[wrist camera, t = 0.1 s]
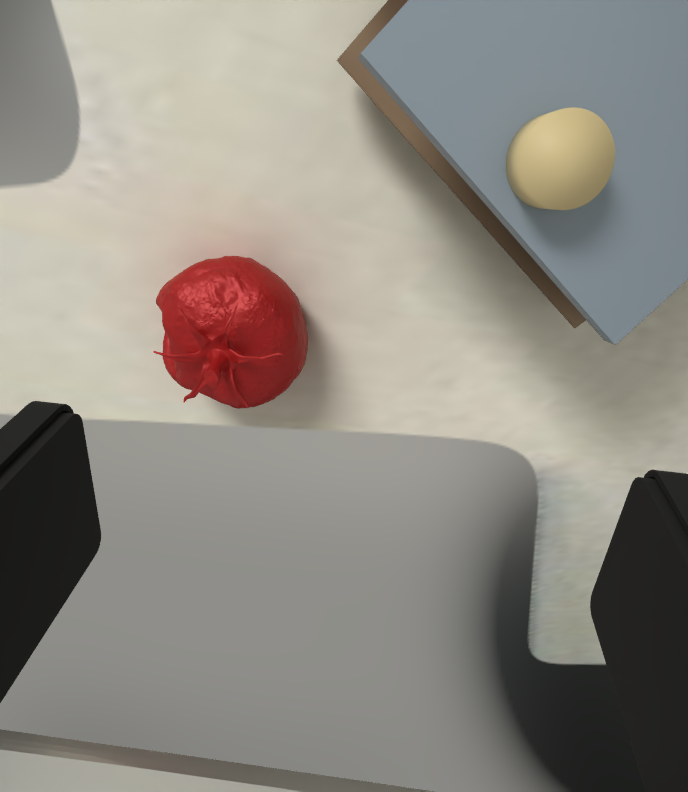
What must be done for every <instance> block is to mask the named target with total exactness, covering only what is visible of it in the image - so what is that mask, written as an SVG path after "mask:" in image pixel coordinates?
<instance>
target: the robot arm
mask: <svg viewBox="0 0 688 792" xmlns="http://www.w3.org/2000/svg"><path fill="white" fill-rule="evenodd" d="M100 541H101V530H100V524H99V518H98V512H97V506H96V500H95V494H94V488H93V482H92V476H91V470H90V464H89V458H88V452H87V446H86V440H85V434H84V428H83V422H82V419H81V417H80V415H78V414H74V413H73V410H72V409H71V407H70V406H68V405H67V404H58V403H49V402H40V401H33V402H31V403H29V404H28V405H27V406H26V407H24V408H23V409H22V410H21V411H20V412H19V413H18V414H17V415H16V416H14V417H13V418H12V419H11V420H10V421H9V422H8V423H7V424H6V425H5V426H3V427H2V428H1V429H0V703H1V701H2V700H3V698H4V697H5V695H6V693H7V691H8V690H9V689H10V687H11V686H12V684H13V683H14V681H15V679H16V678H17V676H18V675H19V673H20V672H21V670H22V669H23V667H24V665H25V664H26V662H27V661H28V659H29V658H30V656H31V655H32V653H33V651H34V650H35V648H36V647H37V645H38V643H39V642H40V640H41V639H42V637H43V636H44V634H45V633H46V631H47V629H48V628H49V627H50V625H51V623H52V622H53V620H54V619H55V617H56V616H57V614H58V613H59V611H60V609H61V608H62V606H63V605H64V603H65V602H66V600H67V599H68V597H69V595H70V594H71V592H72V591H73V589H74V587H75V586H76V585H77V583H78V581H79V580H80V578H81V577H82V575H83V574H84V572H85V571H86V569H87V567H88V566H89V564H90V563H91V561H92V560H93V558H94V556H95V555H96V553H97V551H98V548H99V546H100ZM590 608H591V615H592V619H593V622H594V625H595V629H596V632H597V635H598V638H599V642H600V645H601V648H602V651H603V655H604V658H605V661H606V664H607V667H608V671H609V674H610V677H611V680H612V684H613V687H614V690H615V693H616V697H617V700H618V703H619V706H620V710H621V713H622V716H623V719H624V722H625V726H626V729H627V732H628V735H629V739H630V742H631V745H632V748H633V752H634V755H635V758H636V761H637V764H638V768H639V771H640V774H641V777H642V781H643V784H644V787H645V791H646V792H688V474H685V473H676V472H667V471H658V470H650V471H648V472H647V473H646V474H645V476H644V478H641V477H638V478H635V480H634V481H633V483H632V485H631V487H630V490H629V493H628V496H627V498H626V501H625V504H624V507H623V509H622V512H621V515H620V518H619V520H618V523H617V526H616V529H615V531H614V534H613V537H612V540H611V542H610V545H609V548H608V551H607V553H606V556H605V559H604V562H603V564H602V567H601V570H600V573H599V575H598V578H597V581H596V584H595V586H594V589H593V592H592V595H591V604H590ZM0 792H434V791H427V790H421V789H414V788H407V787H400V786H394V785H387V784H380V783H373V782H366V781H360V780H353V779H346V778H339V777H332V776H325V775H318V774H311V773H304V772H298V771H291V770H284V769H277V768H270V767H263V766H256V765H249V764H242V763H235V762H228V761H221V760H214V759H208V758H201V757H194V756H187V755H180V754H173V753H166V752H158V751H151V750H144V749H137V748H130V747H122V746H115V745H107V744H100V743H93V742H86V741H79V740H72V739H65V738H57V737H50V736H43V735H36V734H29V733H22V732H14V731H7V730H0Z"/></svg>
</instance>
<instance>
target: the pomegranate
mask: <svg viewBox="0 0 688 792" xmlns="http://www.w3.org/2000/svg"><path fill="white" fill-rule="evenodd" d="M156 304H157V305H158V306H159V308H160V309H161V311H162V323H163V327H164V330H165V336H164V340H163V353H160V352H156V351H153V352H154V353H157V354H160V355H162V356H163V360H164V364H165V367H166V369H167V371H168V372H169V374H170V375H171V377H172V378H173V379H174V380H175V381H176V382H177V383H178V384H179V385H181V386H182V387H184V388H186V389H190V390H192V392H191V393H190V394H188V395H186V396H185V397H184V402H185V401H186V400H187V399H189V398H194V397H196V395H197V394H198V393H199V392H200V393H201V394H204V395H206V396H208V397H211V398H212V399H214V400H217V401H219V402H221V403H224V404H227V405H230V406H232V407H234V408H249V407H255V406H258V405H261V404H264V403H266V402H269V401H270V400H273V399H275V398H276V397H277V396H278V395H280V394H281V393H283V392H284V391H285V390H286V389H287V388H288V387H289V386H290V384H291V383H292V382H293V381H294V379H295V378H296V377H297V376H298V375H299V374H300V372H301V370H302V368H303V366H304V364H305V360H306V354H307V345H308V335H307V330H306V323H305V320H304V316H303V313H302V311H301V305H300V303H299V300H298V298H297V296H296V295H295V293H294V292H293V291H292V290H291V289H290V288H289V286H288V285H287V284H286V283H285V282H284V281H283V280H282V279H281V278H280V277H279V276H277V275H276V274H275V273H273V272H272V271H271V270H270V269H268V268H267V267H265V266H263V265H261V264H260V263H258V262H256V261H255V260H253V259H251V258H244V257H239V256H224V257H222V258H217V259H207V260H204V261H202V262H199V263H196V264H194V265H192V266H190V267H189V268H187V269H185V270H184V271H183V272H181V273H179V274H178V275H177V276H175V277H174V278H173V279H171V280H170V281H168V282H167V283H166V284H165V285H164V286H163V288H162V289H161V290H160V292H159V294H158V296H157V298H156Z"/></svg>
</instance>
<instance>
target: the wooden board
mask: <svg viewBox="0 0 688 792" xmlns="http://www.w3.org/2000/svg"><path fill="white" fill-rule="evenodd" d="M407 1H408V0H388V1H387V3H386V4H385V5H384V6H383V7H382V8H381V10H380V11H379V12H378V13H377V14H376V15H375V16H374V18H373V19H372V20H371V21H370V22H369V23H368V25H367V26H366V27H365V28H364V29H363V30H362V32H361V33H360V34H359V35H358V36H357V37H356V39H355V40H354V41H353V42H352V43H351V44H350V46H349V47H348V48H347V49H346V50H345V51H344V53H343V54H342V55H341V56H340V57H339V58H338V60H337V61H338V62H339V64H340V65H341V66H342V67H343V68H344V69H345V70H346V71H347V73H348V74H349V75H350V76H351V77H352V78H353V79H354V80H355V82H356V83H357V84H358V85H359V86H360V87H361V88H362V90H363V91H364V92H365V93H366V94H367V95H368V96H369V97H370V99H371V100H372V101H373V102H374V103H375V104H376V105H377V106H378V108H379V109H380V110H381V111H382V112H383V113H384V114H385V115H386V117H387V118H388V119H389V120H390V121H391V122H392V123H393V124H394V126H395V127H396V128H397V129H398V130H399V131H400V132H401V133H402V135H403V136H404V137H405V138H406V139H407V140H408V141H409V142H410V144H411V145H412V146H413V147H414V148H415V149H416V150H417V151H418V153H419V154H420V155H421V156H422V157H423V158H424V159H425V161H426V162H427V163H428V164H429V165H430V166H431V167H432V168H433V170H434V171H435V172H436V173H437V174H438V175H439V176H440V177H441V179H442V180H443V181H444V182H445V183H446V184H447V185H448V186H449V188H450V189H451V190H452V191H453V192H454V193H455V194H456V195H457V197H458V198H459V199H460V200H461V201H462V202H463V203H464V204H465V206H466V207H467V208H468V209H469V210H470V211H471V212H472V213H473V215H474V216H475V217H476V218H477V219H478V220H479V221H480V222H481V224H482V225H483V226H484V227H485V228H486V229H487V230H488V232H489V233H490V234H491V235H492V236H493V237H494V238H495V239H496V241H497V242H498V243H499V244H500V245H501V246H502V247H503V248H504V250H505V251H506V252H507V253H508V254H509V255H510V256H511V257H512V259H513V260H514V261H515V262H516V263H517V264H518V265H519V266H520V268H521V269H522V270H523V271H524V272H525V273H526V274H527V275H528V277H529V278H530V279H531V280H532V281H533V282H534V283H535V284H536V286H537V287H538V288H539V289H540V290H541V291H542V292H543V293H544V295H545V296H546V297H547V298H548V299H549V300H550V301H551V302H552V304H553V305H554V306H555V307H556V308H557V309H558V310H559V312H560V313H561V314H562V315H563V316H564V317H565V318H566V319H567V321H568V322H569V323H570V324H571V325H572V326H573V327H574V328H576V327H577V326H579V325H580V324H581V323H583V322H584V321H585V320H586V319H585V318H584V317H583V315H582V314H581V313H580V312H579V311H578V310H577V309H576V307H575V306H574V305H573V304H572V303H571V302H570V301H569V299H568V298H567V297H566V296H565V295H564V294H563V293H562V291H561V290H560V289H559V288H558V287H557V286H556V285H555V283H554V282H553V281H552V280H551V279H550V278H549V277H548V275H547V274H546V273H545V272H544V271H543V270H542V269H541V267H540V266H539V265H538V264H537V263H536V262H535V261H534V259H533V258H532V257H531V256H530V255H529V254H528V253H527V251H526V250H525V249H524V248H523V247H522V246H521V245H520V243H519V242H518V241H517V240H516V239H515V238H514V237H513V235H512V234H511V233H510V232H509V231H508V230H507V229H506V227H505V226H504V225H503V224H502V223H501V222H500V221H499V219H498V218H497V217H496V216H495V215H494V214H493V213H492V211H491V210H490V209H489V208H488V207H487V206H486V205H485V203H484V202H483V201H482V200H481V199H480V198H479V197H478V195H477V194H476V193H475V192H474V191H473V190H472V189H471V187H470V186H469V185H468V184H467V183H466V182H465V181H464V179H463V178H462V177H461V176H460V175H459V174H458V173H457V171H456V170H455V169H454V168H453V167H452V166H451V165H450V163H449V162H448V161H447V160H446V159H445V158H444V157H443V155H442V154H441V153H440V152H439V151H438V150H437V148H436V147H435V146H434V145H433V144H432V143H431V142H430V140H429V139H428V138H427V137H426V136H425V135H424V134H423V132H422V131H421V130H420V129H419V128H418V127H417V126H416V124H415V123H414V122H413V121H412V120H411V119H410V118H409V116H408V115H407V114H406V113H405V112H404V111H403V110H402V108H401V107H400V106H399V105H398V104H397V103H396V102H395V100H394V99H393V98H392V97H391V96H390V95H389V94H388V92H387V91H386V90H385V89H384V88H383V87H382V86H381V84H380V83H379V82H378V81H377V80H376V79H375V78H374V76H373V75H372V74H371V73H370V72H369V71H368V70H367V68H366V67H365V66H364V65H363V64H362V63H361V62H360V60H359V59H358V58H359V56H360V54H361V52H362V51H363V50H364V49H365V48H366V47H367V46H368V45H369V43H370V42H371V41H372V40H373V39H374V38H375V37H376V36H377V35H378V33H379V32H380V31H381V30H382V29H383V28H384V27H385V26H386V25H387V23H388V22H389V21H390V20H391V19H392V18H393V17H394V16H395V15H396V13H397V12H398V11H399V10H400V9H401V8H402V7H403V6H404V5H405V3H406V2H407Z"/></svg>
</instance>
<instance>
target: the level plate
mask: <svg viewBox="0 0 688 792" xmlns="http://www.w3.org/2000/svg"><path fill="white" fill-rule="evenodd" d="M358 59H359V60H360V62H361V63H362V64H363V65H364V66H365V67H366V68H367V70H368V71H369V72H370V73H371V74H372V75H373V76H374V78H375V79H376V80H377V81H378V82H379V83H380V84H381V86H382V87H383V88H384V89H385V90H386V91H387V92H388V94H389V95H390V96H391V97H392V98H393V99H394V100H395V102H396V103H397V104H398V105H399V106H400V107H401V108H402V110H403V111H404V112H405V113H406V114H407V115H408V116H409V118H410V119H411V120H412V121H413V122H414V123H415V124H416V126H417V127H418V128H419V129H420V130H421V131H422V132H423V134H424V135H425V136H426V137H427V138H428V139H429V140H430V142H431V143H432V144H433V145H434V146H435V147H436V148H437V150H438V151H439V152H440V153H441V154H442V155H443V157H444V158H445V159H446V160H447V161H448V162H449V163H450V165H451V166H452V167H453V168H454V169H455V170H456V171H457V173H458V174H459V175H460V176H461V177H462V178H463V179H464V181H465V182H466V183H467V184H468V185H469V186H470V187H471V189H472V190H473V191H474V192H475V193H476V194H477V195H478V197H479V198H480V199H481V200H482V201H483V202H484V203H485V205H486V206H487V207H488V208H489V209H490V210H491V211H492V213H493V214H494V215H495V216H496V217H497V218H498V219H499V221H500V222H501V223H502V224H503V225H504V226H505V227H506V229H507V230H508V231H509V232H510V233H511V234H512V235H513V237H514V238H515V239H516V240H517V241H518V242H519V243H520V245H521V246H522V247H523V248H524V249H525V250H526V251H527V253H528V254H529V255H530V256H531V257H532V258H533V259H534V261H535V262H536V263H537V264H538V265H539V266H540V267H541V269H542V270H543V271H544V272H545V273H546V274H547V275H548V277H549V278H550V279H551V280H552V281H553V282H554V283H555V285H556V286H557V287H558V288H559V289H560V290H561V291H562V293H563V294H564V295H565V296H566V297H567V298H568V299H569V301H570V302H571V303H572V304H573V305H574V306H575V307H576V309H577V310H578V311H579V312H580V313H581V314H582V315H583V317H584V318H585V319H586V320H587V321H588V322H589V323H590V325H591V326H592V327H593V328H594V329H595V330H596V331H597V333H598V334H599V335H600V336H601V337H602V338H603V339H604V340H605V341H608V342H610V343H612V344H614V345H616V344H617V343H618V342H619V341H620V340H622V339H623V338H624V337H625V336H626V335H627V334H628V333H629V332H630V331H631V330H633V329H634V328H635V327H636V326H637V325H638V324H639V323H640V322H641V321H642V320H644V319H645V318H646V317H647V316H648V315H649V314H650V313H651V312H652V311H654V310H655V309H656V308H657V307H658V306H659V305H660V304H661V303H662V302H663V301H665V300H666V299H667V298H668V297H669V296H670V295H671V294H672V293H673V292H674V291H676V290H677V289H678V288H679V287H680V286H681V285H682V284H683V283H684V282H685V281H687V280H688V0H408V1H407V2H406V3H405V5H404V6H403V7H402V8H401V9H400V10H399V11H398V12H397V13H396V15H395V16H394V17H393V18H392V19H391V20H390V21H389V22H388V23H387V25H386V26H385V27H384V28H383V29H382V30H381V31H380V32H379V33H378V35H377V36H376V37H375V38H374V39H373V40H372V41H371V42H370V43H369V45H368V46H367V47H366V48H365V49H364V50H363V51H362V52H361V54H360V56H359V58H358Z"/></svg>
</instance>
